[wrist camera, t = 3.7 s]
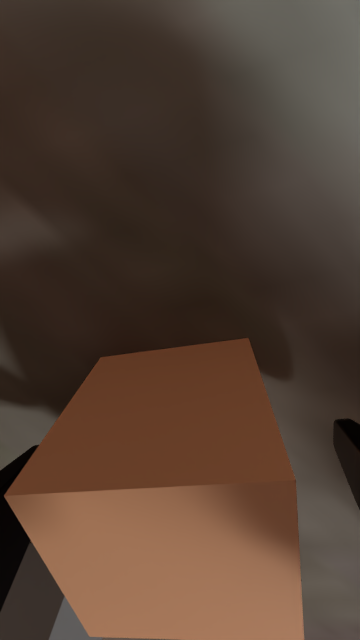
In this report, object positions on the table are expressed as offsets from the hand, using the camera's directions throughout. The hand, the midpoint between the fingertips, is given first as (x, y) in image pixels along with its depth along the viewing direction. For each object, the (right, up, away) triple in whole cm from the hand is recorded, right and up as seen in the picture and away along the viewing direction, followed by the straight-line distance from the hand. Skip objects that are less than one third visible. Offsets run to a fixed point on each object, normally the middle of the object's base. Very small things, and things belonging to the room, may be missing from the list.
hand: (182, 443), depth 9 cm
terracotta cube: (0, +1, +2) cm, 2 cm away
